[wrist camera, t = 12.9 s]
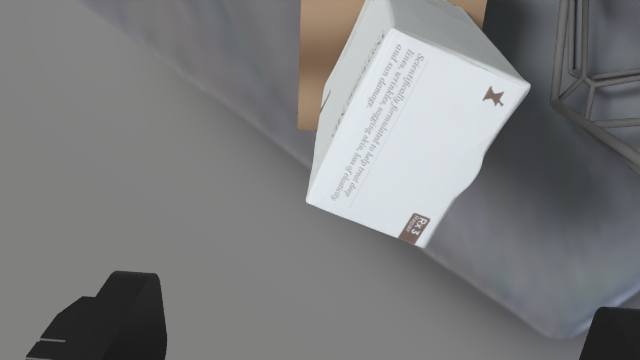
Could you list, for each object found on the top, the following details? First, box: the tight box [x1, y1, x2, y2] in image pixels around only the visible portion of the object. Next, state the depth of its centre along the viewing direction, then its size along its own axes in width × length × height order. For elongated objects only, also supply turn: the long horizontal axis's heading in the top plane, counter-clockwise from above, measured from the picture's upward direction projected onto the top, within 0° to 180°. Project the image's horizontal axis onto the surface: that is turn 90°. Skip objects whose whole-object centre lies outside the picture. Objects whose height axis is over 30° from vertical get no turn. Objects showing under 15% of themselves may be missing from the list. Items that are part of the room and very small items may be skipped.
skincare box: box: [306, 0, 531, 248], centre depth 27 cm, size 8×6×15 cm
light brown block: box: [298, 0, 487, 131], centre depth 36 cm, size 11×11×6 cm
